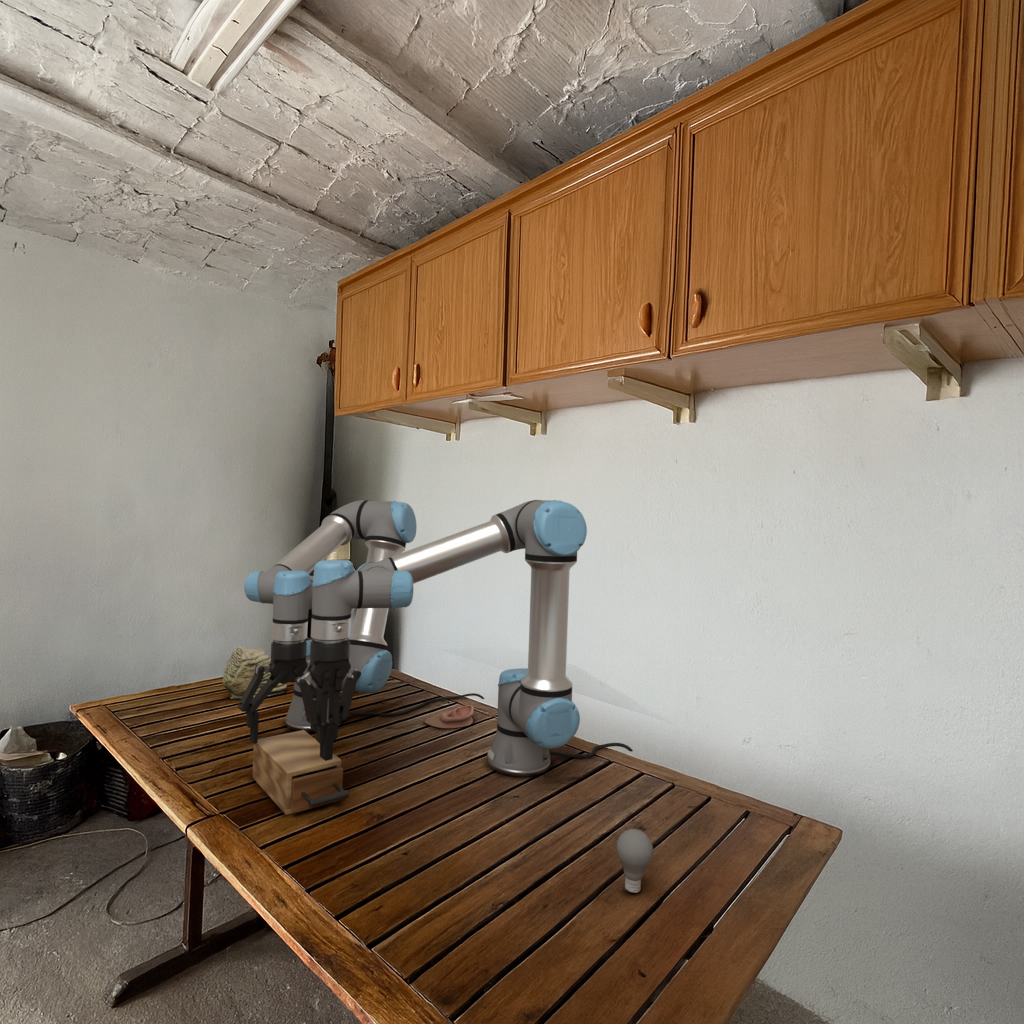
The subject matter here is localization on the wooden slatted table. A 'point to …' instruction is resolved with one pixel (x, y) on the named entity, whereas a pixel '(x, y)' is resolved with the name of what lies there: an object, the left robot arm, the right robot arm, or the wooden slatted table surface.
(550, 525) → the right robot arm
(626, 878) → the light bulb
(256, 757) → the cabinet
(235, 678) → the fossil
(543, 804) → the wooden slatted table surface
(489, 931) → the wooden slatted table surface
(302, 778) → the drawer
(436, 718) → the anatomical model
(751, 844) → the wooden slatted table surface
